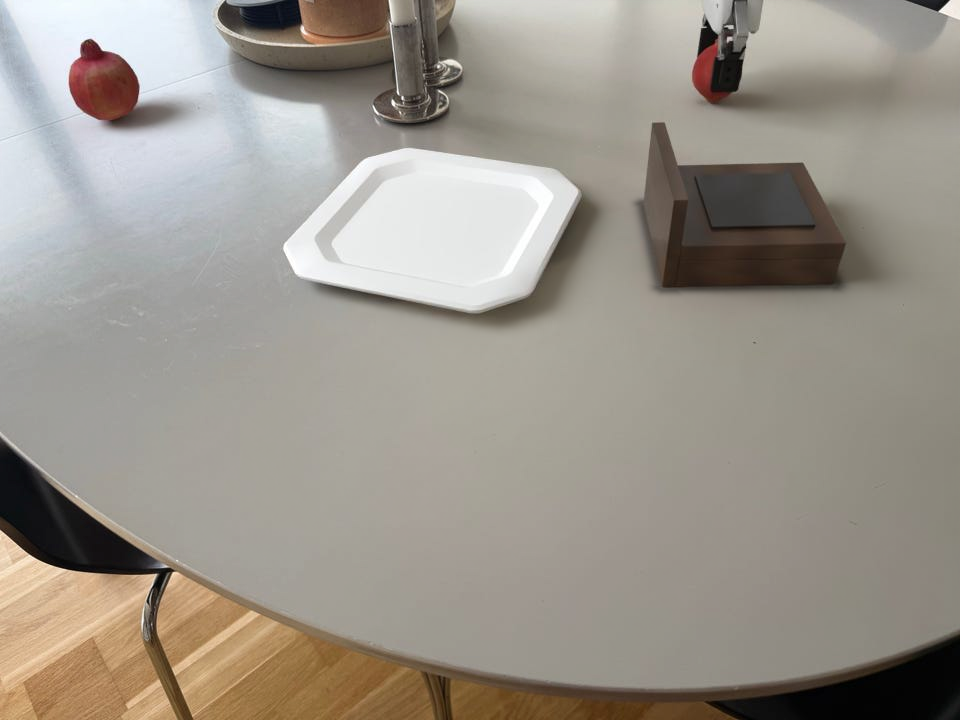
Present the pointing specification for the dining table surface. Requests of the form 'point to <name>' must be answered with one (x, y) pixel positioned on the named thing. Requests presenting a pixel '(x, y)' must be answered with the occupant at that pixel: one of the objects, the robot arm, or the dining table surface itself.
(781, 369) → the dining table surface
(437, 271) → the plate
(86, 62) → the fruit
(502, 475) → the dining table surface
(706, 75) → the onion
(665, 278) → the wooden bookend stand
